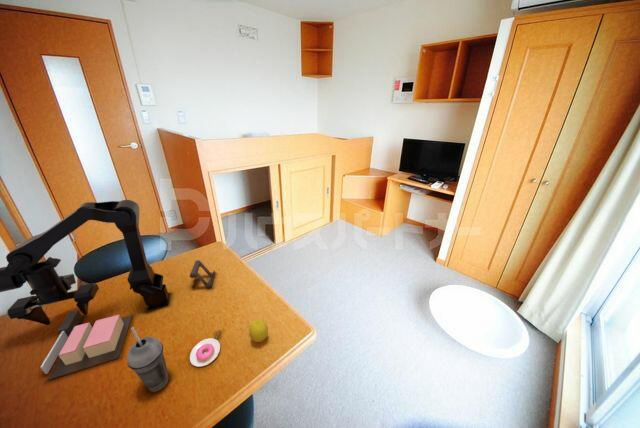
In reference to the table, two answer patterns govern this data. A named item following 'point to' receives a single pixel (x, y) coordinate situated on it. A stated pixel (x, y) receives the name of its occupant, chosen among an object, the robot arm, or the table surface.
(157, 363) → the beverage cup
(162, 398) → the table surface
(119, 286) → the table surface
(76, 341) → the cake slice
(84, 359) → the cake board
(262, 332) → the lemon
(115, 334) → the cake
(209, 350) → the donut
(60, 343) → the knife
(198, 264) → the tablet stand
